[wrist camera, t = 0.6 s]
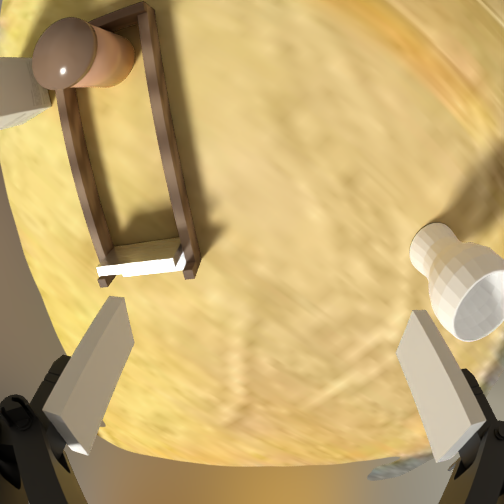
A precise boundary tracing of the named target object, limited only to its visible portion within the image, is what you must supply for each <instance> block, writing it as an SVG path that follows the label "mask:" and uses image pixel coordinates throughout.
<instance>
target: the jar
mask: <svg viewBox="0 0 504 504" xmlns="http://www.w3.org/2000/svg"><path fill="white" fill-rule="evenodd" d="M134 60H135V52H134V48H133V46H132V44H131V42H130V41H129V40H128V39H126V38H125V37H123V36H120V35H117V34H115V33H112V32H109V31H107V30H104V29H101V28H99V27H96V26H93V25H90V24H89V23H88V22H86V21H84V20H81V19H78V18H74V17H68V18H64V19H61V20H59V21H57V22H55V23H53V24H52V25H51V26H49V27H48V28H47V29H46V30H45V32H44V33H43V34H42V35H41V37H40V38H39V40H38V42H37V44H36V46H35V49H34V53H33V58H32V69H33V74H34V77H35V79H36V80H37V82H38V83H39V84H40V85H41V86H42V87H44V88H46V89H49V90H62V89H67V88H70V87H103V88H107V87H112V86H115V85H117V84H119V83H120V82H122V81H123V80H124V79H125V78H126V77H127V76H128V75H129V73H130V72H131V70H132V67H133V65H134Z"/></svg>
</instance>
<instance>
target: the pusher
mask: <svg viewBox="0 0 504 504" xmlns="http://www.w3.org/2000/svg"><path fill="white" fill-rule="evenodd" d="M185 264H186V260H185V257H184V253H183V249H182V245H181V241H180V237H178V238H171V239H164V240H157V241H150V242H143V243H136V244H129V245H122V246H115V247H114V248H113V249H112V250H111V251H110V252H109V254H108V255H107V256H106V257H105V258H104V259H103V260H102V262H101V263H100V264H99V265H98V266H97V267H96V268H97V271H98V273H99V276H104V275H113V274H122V273H123V276H134V275H143V274H153V273H162V272H171V271H180V270H183V269H184V267H185Z"/></svg>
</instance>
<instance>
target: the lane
mask: <svg viewBox="0 0 504 504" xmlns="http://www.w3.org/2000/svg"><path fill="white" fill-rule="evenodd" d="M88 23H89V24H90V25H93V26H96V27H99V28H101V29H104V30H107V31H109V32H115V31H117V30H120V29H123V28H126V27H129V26H132V25H135V24H138V25H139V32H140V40H141V47H142V54H143V60H144V67H145V73H146V79H147V85H148V91H149V97H150V103H151V108H152V114H153V119H154V124H155V130H156V135H157V140H158V145H159V150H160V154H161V159H162V164H163V169H164V173H165V178H166V182H167V187H168V191H169V196H170V200H171V204H172V208H173V213H174V217H175V221H176V225H177V229H178V233H179V237H180V241H181V245H182V249H183V253H184V257H185V260H186V264H185V267H184V269H183V274H184V277H185V280H186V279H195V276H196V273H197V270H198V268H199V265H200V262H201V255H200V250H199V246H198V242H197V238H196V233H195V229H194V224H193V220H192V216H191V211H190V207H189V202H188V197H187V193H186V188H185V183H184V179H183V174H182V169H181V164H180V159H179V154H178V149H177V144H176V139H175V133H174V128H173V123H172V117H171V112H170V106H169V101H168V95H167V89H166V83H165V77H164V71H163V65H162V58H161V52H160V45H159V38H158V31H157V24H156V17H155V10H154V9H153V8H152V7H150V6H149V5H148V4H146V3H145V2H144V1H142V2H139V3H136V4H133V5H131V6H128V7H125V8H122V9H119V10H117V11H114V12H111V13H109V14H106V15H104V16H101V17H99V18H97V19H94V20H92V21H90V22H88ZM55 91H56V98H57V104H58V110H59V115H60V121H61V126H62V131H63V136H64V140H65V145H66V150H67V154H68V158H69V162H70V166H71V170H72V174H73V178H74V182H75V186H76V189H77V193H78V197H79V200H80V204H81V207H82V210H83V214H84V217H85V220H86V223H87V226H88V230H89V233H90V236H91V239H92V242H93V245H94V247H95V250H96V253H97V256H98V259H99V262H100V263H101V262H102V260H103V259H104V258H105V257H106V256H107V255H108V254H109V252H110V251H111V250H112V249H113V248H114V245H113V242H112V239H111V236H110V233H109V230H108V226H107V223H106V220H105V217H104V213H103V210H102V206H101V203H100V199H99V196H98V192H97V188H96V184H95V180H94V177H93V173H92V169H91V164H90V160H89V156H88V152H87V147H86V143H85V138H84V133H83V128H82V123H81V118H80V113H79V107H78V102H77V96H76V89H75V87H70V88H67V89H62V90H55ZM116 275H117V274H113V275H104V276H100V277H99V279H98V282H99V285H100V287H108V286H109V285H110V283H111V282H112V280H113V279H114V278H115V276H116Z"/></svg>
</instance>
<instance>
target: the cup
mask: <svg viewBox="0 0 504 504" xmlns="http://www.w3.org/2000/svg"><path fill="white" fill-rule="evenodd" d="M410 260H411V262H412V264H413V266H414V267H415V268H416V269H417V270H418V271H419V272H421V273H422V274H423V275H425V276H426V277H427V279H428V281H429V296H430V300H431V304H432V308H433V310H434V313H435V315H436V316H437V318H438V319H439V321H440V323H441V324H442V325H443V326H444V327H445V328H446V329H447V330H448V331H449V332H450V333H451V334H453V335H454V336H455V337H456V338H457V339H459V340H462V341H467V342H472V341H476V340H479V339H481V338H483V337H485V336H487V335H488V334H490V333H491V332H493V331H494V330H495V329H496V328H497V327H498V326H499V325H500V324H501V323H502V322H503V321H504V260H503V259H502V258H501V257H500V256H499V255H498V254H496V253H495V252H494V251H493V250H492V249H490V248H489V247H486V246H482V245H479V244H476V243H472V242H466V243H463V242H461V241H460V240H458V239H457V237H456V236H455V234H454V233H453V232H452V230H451V229H450V228H449V227H448V226H446V225H445V224H442V223H432V224H429V225H427V226H425V227H424V228H422V229H421V230H420V231H419V232H418V233H417V234H416V236H415V237H414V239H413V241H412V243H411V246H410Z"/></svg>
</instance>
